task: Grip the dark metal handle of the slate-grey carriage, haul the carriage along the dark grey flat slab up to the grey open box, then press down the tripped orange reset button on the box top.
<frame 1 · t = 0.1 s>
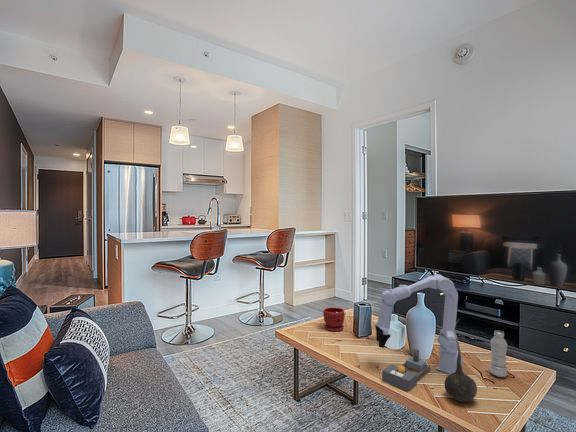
hand: (379, 344, 155), 11 cm above the table, tool pointing down, fingers open, 7 cm apart
radish: (460, 397, 130), on the table
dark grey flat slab: (412, 372, 149), on the table
plant pot: (333, 329, 204), on the table
plastic bottle: (498, 376, 147), on the table
grey open box: (399, 382, 140), on the table
reset button: (401, 371, 141), point 4 cm above the table, slide at 0.0 cm
carriage: (415, 358, 151), point 5 cm above the table, slide at 0.0 cm
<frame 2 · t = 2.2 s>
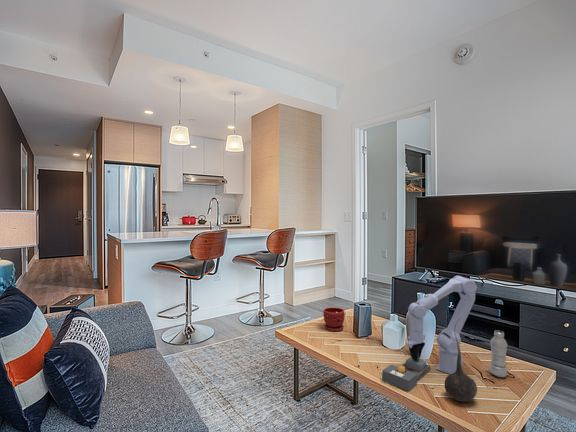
hand: (415, 358, 151), 5 cm above the table, tool pointing down, fingers closed on carriage, 2 cm apart
carriage: (415, 358, 151), point 5 cm above the table, slide at 0.0 cm, touching gripper
everything else where it was.
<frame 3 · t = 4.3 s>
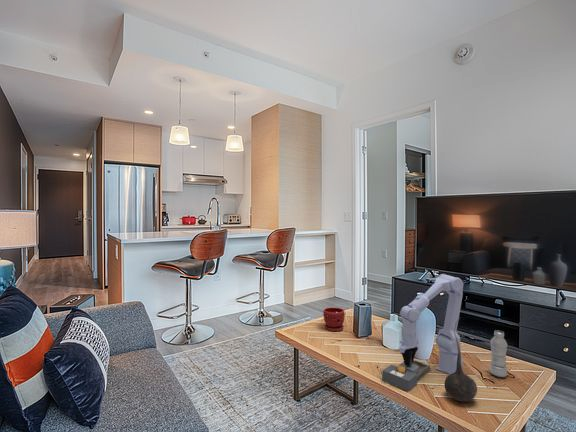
hand: (408, 363, 146), 5 cm above the table, tool pointing down, fingers closed on carriage, 2 cm apart
carriage: (408, 363, 146), point 5 cm above the table, slide at 7.5 cm, touching gripper
everything else where it was.
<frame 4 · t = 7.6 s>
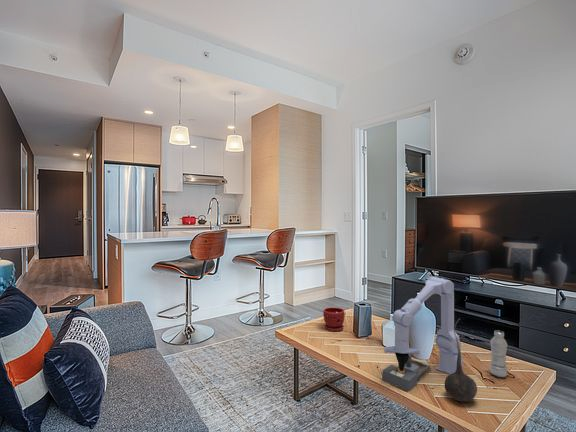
hand: (401, 369, 141), 5 cm above the table, tool pointing down, fingers closed, pressing on reset button
reset button: (401, 374, 141), point 3 cm above the table, slide at 1.2 cm, touching gripper
carriage: (408, 363, 146), point 5 cm above the table, slide at 7.5 cm
everything else where it was.
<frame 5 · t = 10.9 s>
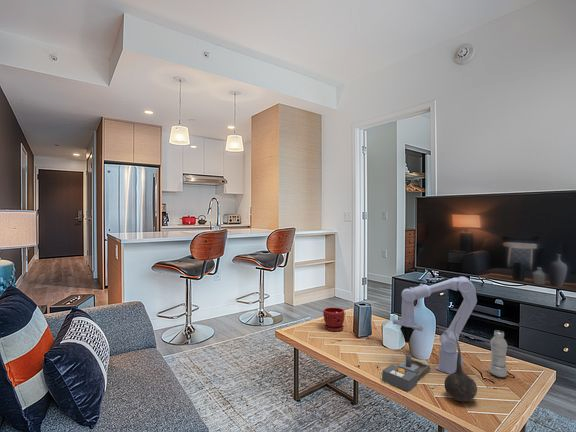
hand: (407, 342, 158), 10 cm above the table, tool pointing down, fingers closed
reset button: (401, 374, 141), point 3 cm above the table, slide at 1.2 cm
everything else where it was.
at the end: carriage slide at 7.5 cm; reset button slide at 1.2 cm; the gripper is holding nothing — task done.
